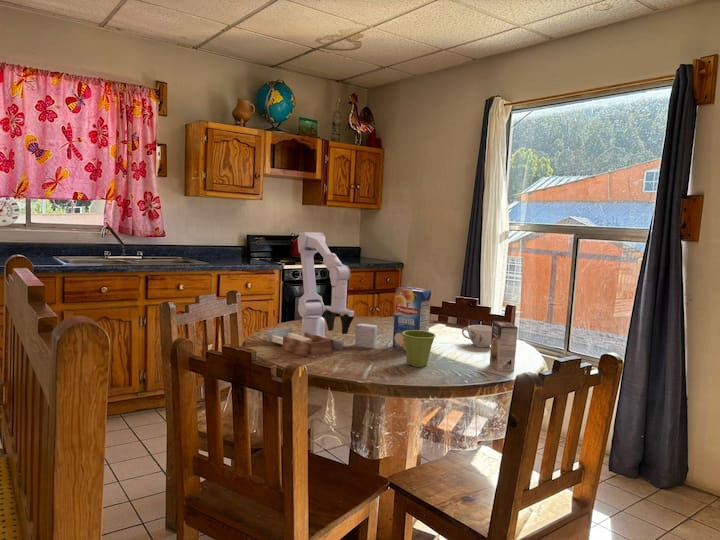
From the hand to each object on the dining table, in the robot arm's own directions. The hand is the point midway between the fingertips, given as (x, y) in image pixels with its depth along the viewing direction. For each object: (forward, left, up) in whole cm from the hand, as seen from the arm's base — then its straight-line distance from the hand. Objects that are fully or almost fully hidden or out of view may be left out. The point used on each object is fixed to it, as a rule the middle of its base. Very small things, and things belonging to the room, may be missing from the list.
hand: (337, 332), depth 212 cm
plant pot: (-8, +33, -7) cm, 34 cm away
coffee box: (-29, +55, -7) cm, 62 cm away
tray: (+11, -15, -5) cm, 19 cm away
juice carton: (-25, +17, -7) cm, 31 cm away
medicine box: (-13, +4, -7) cm, 15 cm away
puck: (0, 0, -7) cm, 7 cm away
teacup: (-53, +32, -7) cm, 62 cm away
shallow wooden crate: (+11, -6, -7) cm, 14 cm away
